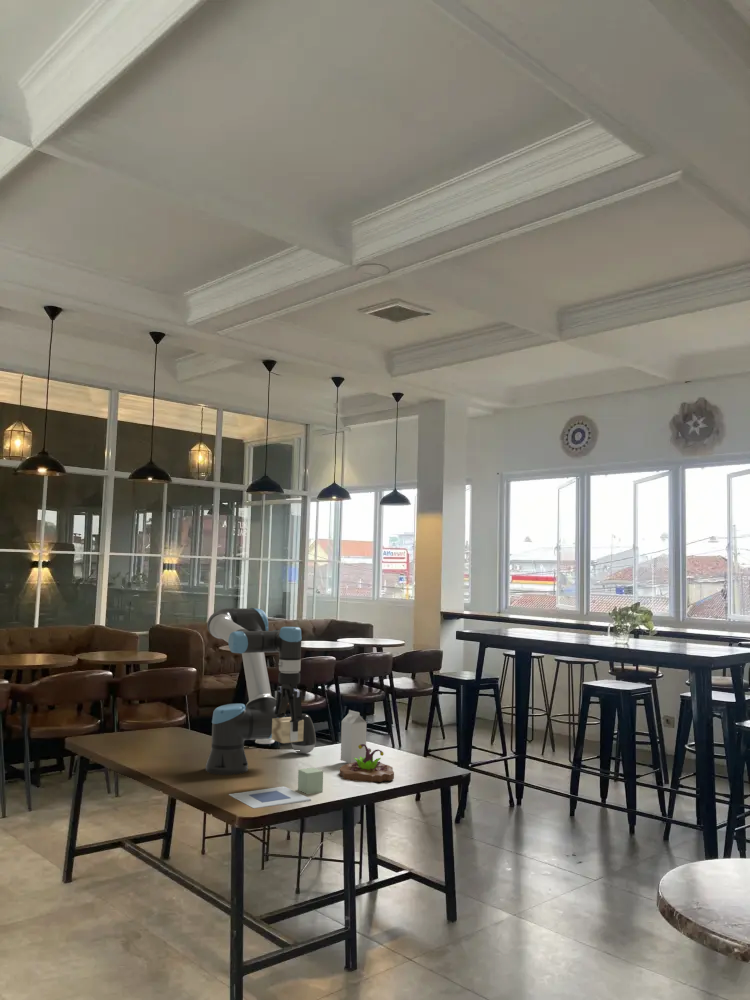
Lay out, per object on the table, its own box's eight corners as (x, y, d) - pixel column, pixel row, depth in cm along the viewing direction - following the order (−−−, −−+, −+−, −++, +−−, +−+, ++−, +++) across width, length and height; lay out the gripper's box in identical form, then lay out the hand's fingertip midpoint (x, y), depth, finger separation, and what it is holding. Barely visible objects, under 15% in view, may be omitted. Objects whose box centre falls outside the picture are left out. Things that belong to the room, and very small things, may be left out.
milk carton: (355, 758, 319) (356, 709, 321) (365, 761, 313) (366, 711, 315) (340, 760, 315) (341, 710, 317) (350, 764, 309) (351, 713, 311)
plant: (339, 768, 303) (340, 738, 304) (391, 769, 304) (392, 738, 305) (339, 782, 283) (340, 749, 284) (395, 782, 284) (395, 749, 285)
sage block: (297, 791, 269) (298, 769, 269) (313, 788, 272) (314, 767, 273) (306, 795, 264) (307, 773, 264) (322, 793, 267) (323, 771, 268)
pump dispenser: (289, 749, 333) (290, 711, 335) (314, 749, 334) (315, 711, 336) (290, 754, 323) (291, 716, 324) (316, 754, 324) (317, 715, 326)
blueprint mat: (228, 797, 259) (228, 793, 259) (284, 789, 270) (284, 786, 270) (253, 811, 244) (253, 807, 244) (310, 802, 255) (311, 798, 255)
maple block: (271, 739, 280) (272, 718, 280) (292, 736, 284) (292, 716, 285) (282, 743, 273) (283, 722, 274) (303, 741, 278) (303, 720, 278)
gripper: (266, 669, 287) (264, 734, 285) (294, 675, 270) (292, 745, 268) (284, 668, 292) (282, 732, 290) (313, 674, 275) (312, 743, 272)
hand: (287, 738), depth 279 cm, fingers closed on maple block, 8 cm apart
